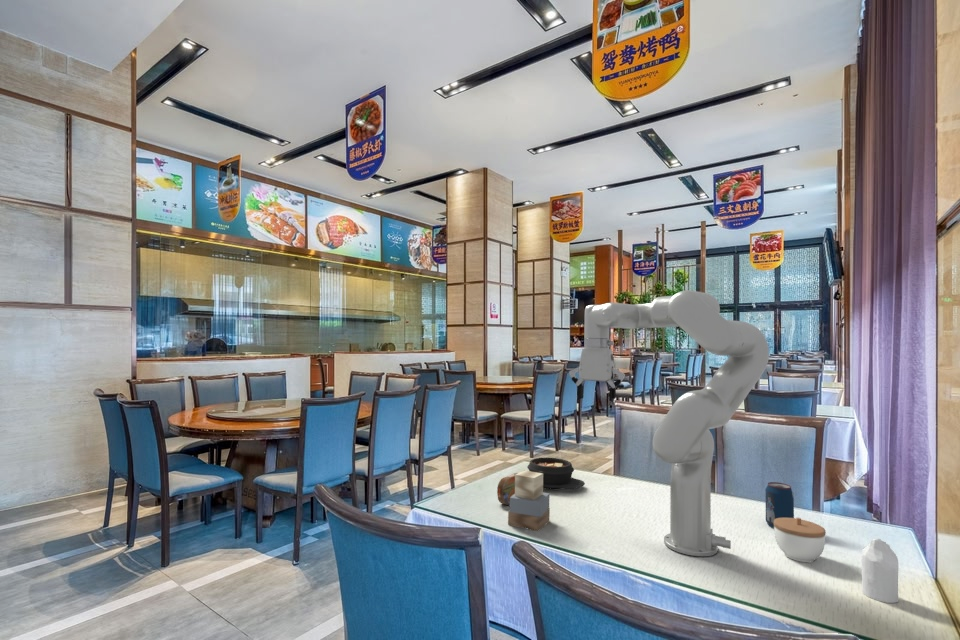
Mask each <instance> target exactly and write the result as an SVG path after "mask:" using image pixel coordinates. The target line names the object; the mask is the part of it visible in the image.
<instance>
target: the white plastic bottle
mask: <svg viewBox="0 0 960 640" xmlns="http://www.w3.org/2000/svg"><path fill="white" fill-rule="evenodd" d="M894 551H895V550H893V549H892V548H891V546H890V544H888V543H887V542H886V541H885V540H884V541H883V540H882V539H881V538H875V539H870V540H869V543H868V545H867V546H865V547H864V548H863V549H861V584H862V585H861V586H862V587H861V590H862V591H861V592H862V594H863V595H864V596H866V597H868V598H870V599H872V600H875V601H878V602H881V603H886V604H896V603H898V602H899V560H898V559H899V558H898V556H897V554H896V553H895V552H894Z"/></svg>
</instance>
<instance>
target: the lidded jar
mask: <svg viewBox="0 0 960 640" xmlns="http://www.w3.org/2000/svg"><path fill="white" fill-rule="evenodd" d="M773 531H774V533H773V534H774V538H775V542H776V544H777V546H778V547H779V549H780V551H782V552H783V553H784V556H785V557H787V558H789V559H790V560H793V561H796V562H800V563H801V562H802V563H814V562H815V560H817V559H818V558H819V557H821V555H822V553H823V552H824V549H825V545H826V529H825V528H824V527H823V526H821V524H820V525H819V524H817V523H815V522H812V521H810V520H806V519H802V518H801V517H796V518H795V517H794V518H776V519H775V520H774V529H773Z"/></svg>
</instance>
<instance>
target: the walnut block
mask: <svg viewBox="0 0 960 640" xmlns="http://www.w3.org/2000/svg"><path fill="white" fill-rule="evenodd" d="M550 509H551V508H550V507H549V508H548V509H547V511H546V512H545V513H544V514H543V515H542V516H541V517H536V516H530V515H524V514H518V513H513V512H510V510H508V512H507V513H508V515H507V516H508V517H507V525H508V526H512V527H517V528H522V529H526V528H528V529H527V530H530V529H531V531H536V532H539V531H540V530H541V529H542V528H544V526H545V525H547V524H546V523H549V522H550V517H551V516H550V513H551V512H550ZM538 530H539V531H538Z"/></svg>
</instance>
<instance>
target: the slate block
mask: <svg viewBox="0 0 960 640" xmlns="http://www.w3.org/2000/svg"><path fill="white" fill-rule="evenodd" d="M548 508H550V493H548V492H543V495H542V496H540V497H538V498H536V499H535V500H531V499H527V498H522V497H517V496H515V494H514V495H512V496H511V497H510V505H509V511H510V512H513V513H518V514H524V515H530V516H536V517H541V516H542V515H543V514H544V513H545V512H546V511H547V509H548Z"/></svg>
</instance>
